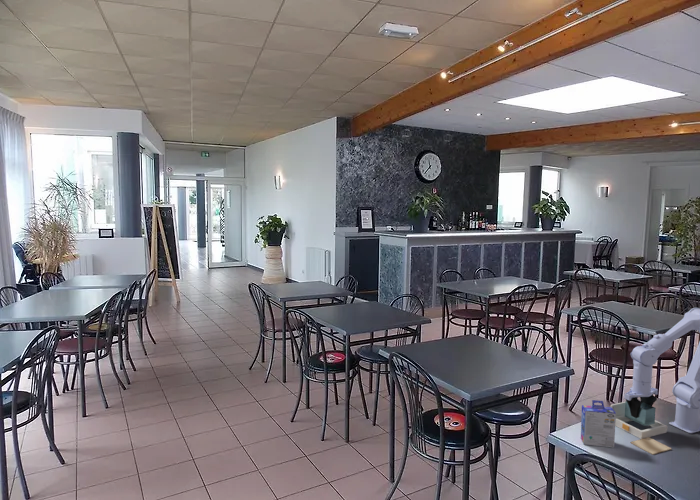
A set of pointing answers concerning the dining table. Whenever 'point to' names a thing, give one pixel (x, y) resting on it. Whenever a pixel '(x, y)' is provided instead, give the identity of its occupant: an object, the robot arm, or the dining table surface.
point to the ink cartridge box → (598, 425)
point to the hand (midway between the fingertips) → (639, 415)
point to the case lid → (619, 408)
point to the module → (642, 414)
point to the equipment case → (656, 430)
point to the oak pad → (651, 445)
